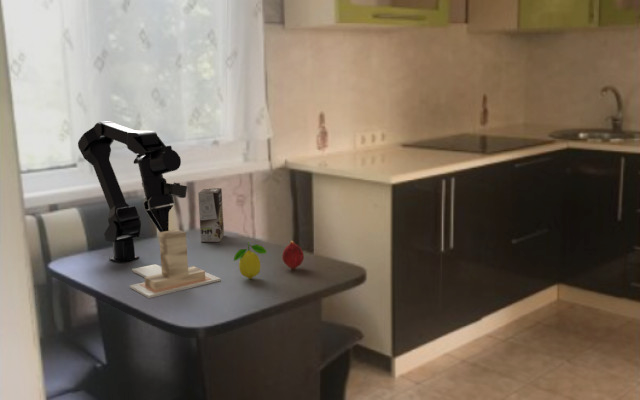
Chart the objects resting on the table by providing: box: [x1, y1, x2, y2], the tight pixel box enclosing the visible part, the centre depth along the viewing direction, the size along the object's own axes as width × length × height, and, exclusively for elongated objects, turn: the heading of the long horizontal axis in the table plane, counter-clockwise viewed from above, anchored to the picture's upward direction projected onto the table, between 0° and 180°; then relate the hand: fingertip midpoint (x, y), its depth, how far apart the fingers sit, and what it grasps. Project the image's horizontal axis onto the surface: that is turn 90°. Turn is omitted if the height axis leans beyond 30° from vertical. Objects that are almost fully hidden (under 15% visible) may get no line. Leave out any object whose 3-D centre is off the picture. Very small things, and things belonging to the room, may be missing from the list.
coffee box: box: [197, 187, 225, 243], centre depth 219 cm, size 9×6×16 cm
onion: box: [281, 240, 305, 270], centre depth 182 cm, size 6×6×8 cm
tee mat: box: [129, 263, 221, 299], centre depth 178 cm, size 25×20×1 cm
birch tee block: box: [144, 228, 206, 290], centre depth 171 cm, size 6×14×13 cm, turn 129°
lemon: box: [233, 241, 268, 280], centre depth 174 cm, size 7×6×10 cm
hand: (164, 232), depth 183 cm, fingers open, 9 cm apart
